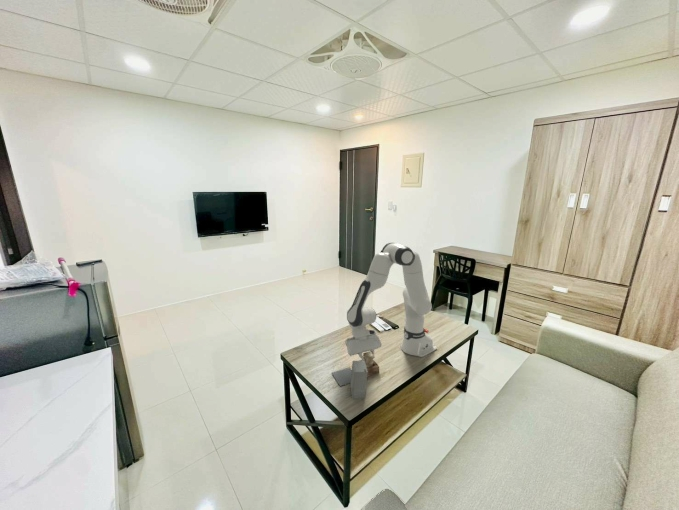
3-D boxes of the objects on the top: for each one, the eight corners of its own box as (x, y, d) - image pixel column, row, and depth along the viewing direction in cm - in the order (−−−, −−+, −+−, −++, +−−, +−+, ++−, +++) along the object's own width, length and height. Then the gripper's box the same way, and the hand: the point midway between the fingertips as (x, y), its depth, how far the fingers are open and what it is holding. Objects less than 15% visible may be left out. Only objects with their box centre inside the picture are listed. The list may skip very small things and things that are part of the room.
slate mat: (349, 368, 152) (349, 367, 152) (359, 380, 143) (359, 379, 142) (331, 373, 148) (331, 372, 148) (340, 386, 138) (340, 385, 138)
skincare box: (350, 387, 138) (350, 360, 134) (363, 386, 139) (364, 359, 135) (352, 399, 130) (352, 371, 126) (366, 398, 130) (368, 370, 126)
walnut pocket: (370, 363, 157) (370, 357, 156) (379, 372, 149) (379, 366, 148) (356, 367, 153) (357, 361, 152) (364, 377, 145) (365, 370, 144)
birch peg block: (369, 366, 153) (369, 351, 151) (372, 371, 150) (373, 355, 147) (362, 368, 152) (363, 353, 149) (366, 373, 148) (367, 357, 146)
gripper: (346, 337, 148) (353, 363, 142) (377, 329, 156) (386, 354, 150) (342, 340, 153) (350, 365, 147) (373, 333, 161) (381, 356, 155)
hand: (368, 359), depth 149 cm, fingers closed on birch peg block, 4 cm apart
